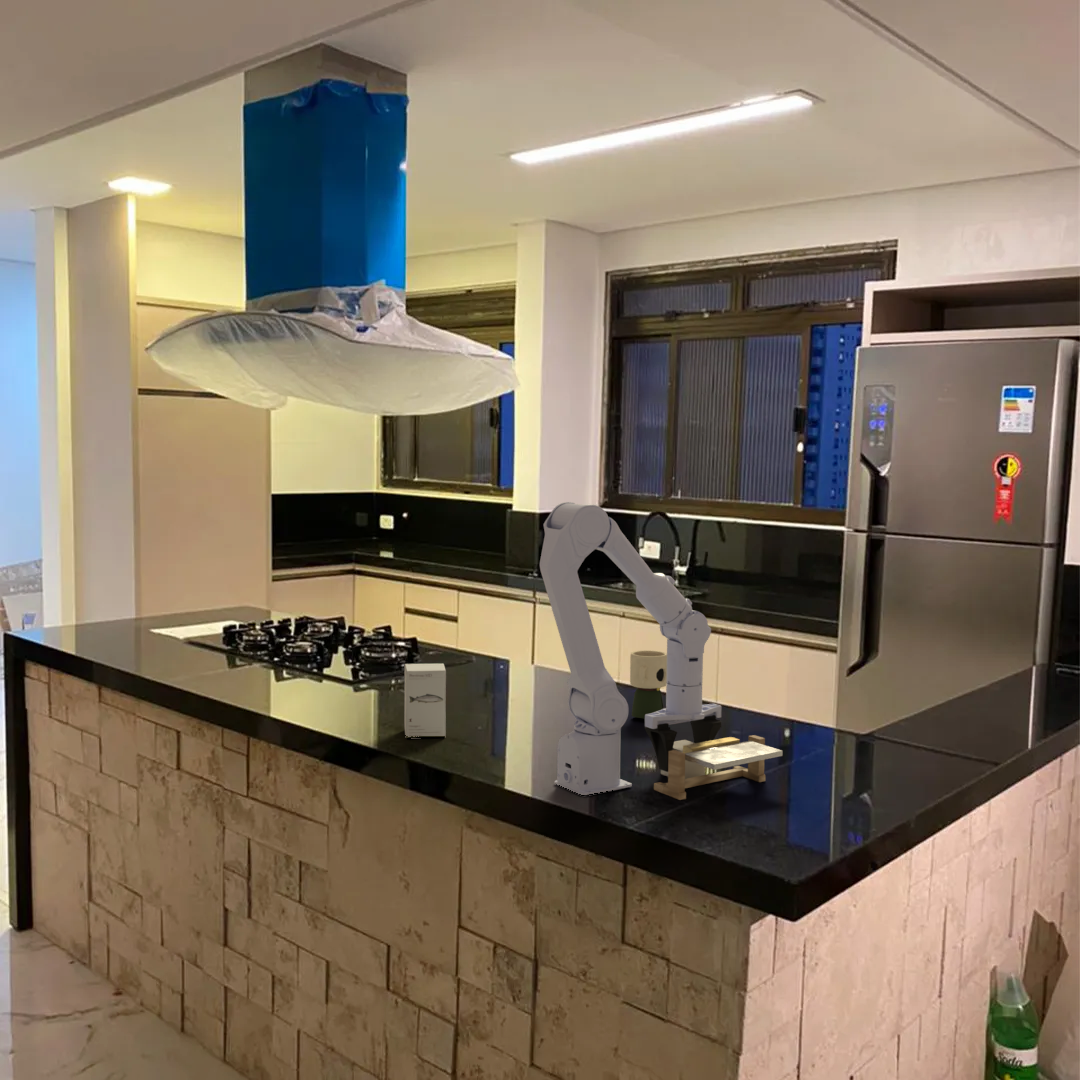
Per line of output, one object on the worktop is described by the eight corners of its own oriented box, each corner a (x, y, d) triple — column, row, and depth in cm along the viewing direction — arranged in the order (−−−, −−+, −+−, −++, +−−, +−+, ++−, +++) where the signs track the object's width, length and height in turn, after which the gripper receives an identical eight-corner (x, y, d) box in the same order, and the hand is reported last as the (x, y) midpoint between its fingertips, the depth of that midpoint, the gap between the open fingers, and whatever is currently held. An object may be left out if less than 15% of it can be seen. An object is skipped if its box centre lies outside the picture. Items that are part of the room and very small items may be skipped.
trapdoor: (713, 772, 158) (713, 762, 158) (671, 758, 166) (672, 747, 166) (783, 758, 166) (783, 747, 166) (740, 744, 174) (740, 734, 174)
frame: (679, 800, 162) (680, 755, 162) (653, 789, 167) (654, 746, 167) (765, 781, 172) (766, 738, 172) (738, 771, 177) (739, 730, 177)
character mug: (659, 727, 206) (660, 659, 205) (622, 724, 208) (623, 657, 207) (671, 714, 216) (673, 649, 215) (637, 711, 218) (637, 647, 217)
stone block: (681, 782, 172) (681, 751, 171) (660, 774, 176) (661, 743, 175) (704, 777, 174) (705, 746, 174) (684, 769, 178) (684, 739, 178)
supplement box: (405, 740, 195) (405, 670, 194) (404, 729, 203) (403, 662, 202) (446, 738, 197) (446, 669, 196) (443, 728, 204) (443, 662, 203)
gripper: (665, 692, 167) (664, 779, 168) (735, 682, 175) (733, 765, 176) (636, 684, 172) (635, 768, 173) (705, 674, 180) (703, 755, 181)
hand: (682, 766), depth 175 cm, fingers open, 7 cm apart
